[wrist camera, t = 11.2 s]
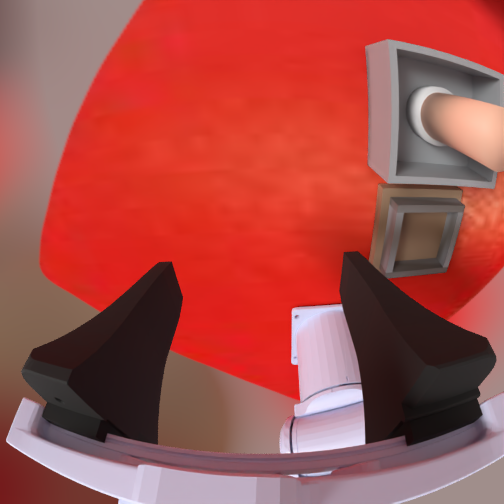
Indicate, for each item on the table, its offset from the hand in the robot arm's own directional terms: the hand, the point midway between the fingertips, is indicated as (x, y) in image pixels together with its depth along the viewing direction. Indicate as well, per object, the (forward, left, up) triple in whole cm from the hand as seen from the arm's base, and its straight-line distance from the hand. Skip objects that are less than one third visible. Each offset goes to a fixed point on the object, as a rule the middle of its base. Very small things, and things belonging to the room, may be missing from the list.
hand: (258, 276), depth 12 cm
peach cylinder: (+6, -13, -10) cm, 17 cm away
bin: (+6, -13, -10) cm, 18 cm away
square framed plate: (-4, -13, -10) cm, 17 cm away
